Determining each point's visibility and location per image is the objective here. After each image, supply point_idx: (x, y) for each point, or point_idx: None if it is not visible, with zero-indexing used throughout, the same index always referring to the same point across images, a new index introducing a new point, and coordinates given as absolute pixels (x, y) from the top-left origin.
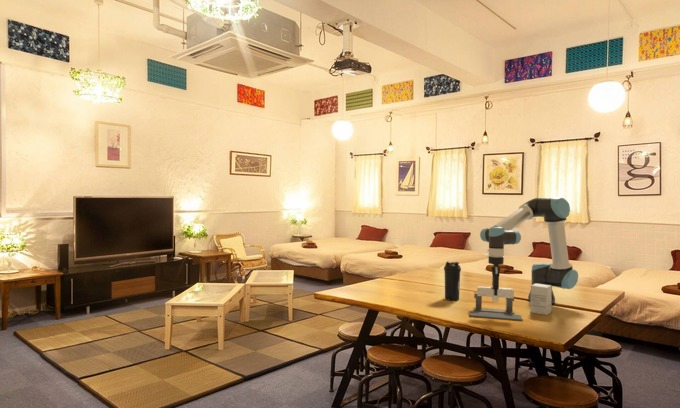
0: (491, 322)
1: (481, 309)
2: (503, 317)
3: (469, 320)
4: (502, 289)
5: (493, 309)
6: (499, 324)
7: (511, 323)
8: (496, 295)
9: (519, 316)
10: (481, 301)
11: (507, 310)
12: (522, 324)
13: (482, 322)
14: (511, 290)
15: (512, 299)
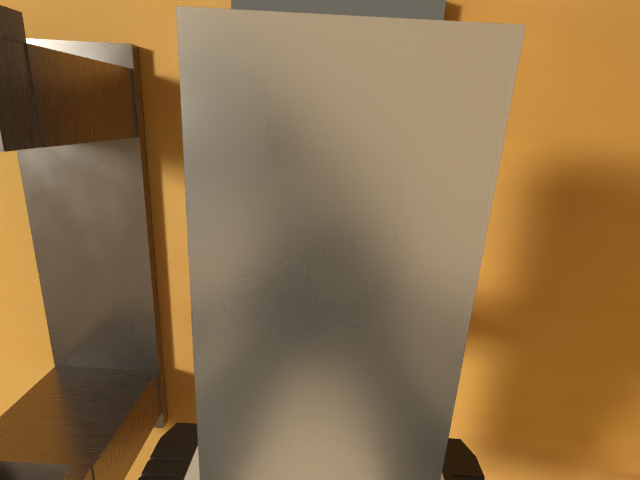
0: (543, 324)
1: (153, 376)
2: None
3: (501, 472)
4: (436, 449)
5: (67, 260)
6: (606, 266)
7: (560, 147)
8: (462, 453)
9: (311, 10)
10: (111, 439)
11: (125, 127)
12: (591, 29)
13: (551, 392)
14: (485, 140)
15: (5, 41)
